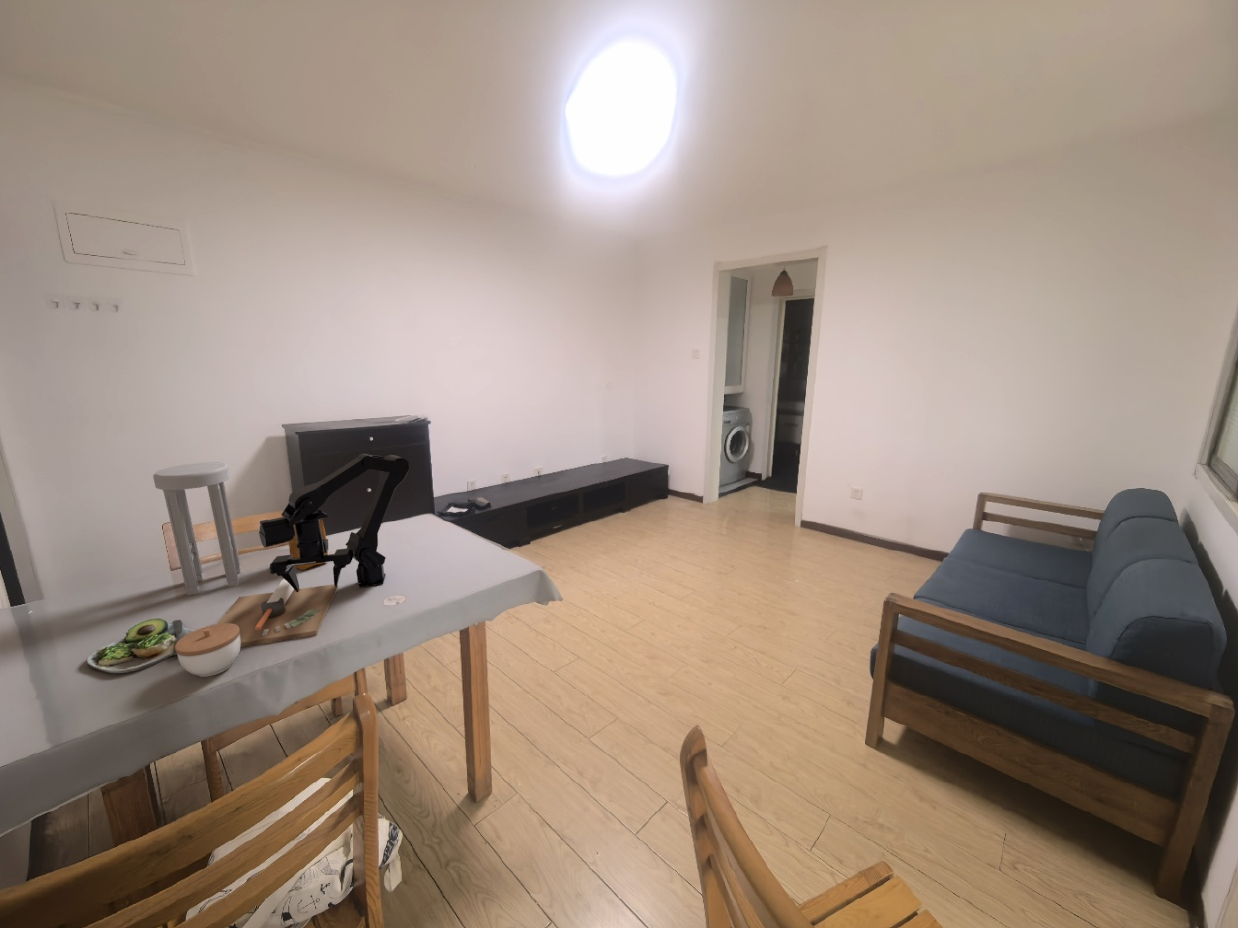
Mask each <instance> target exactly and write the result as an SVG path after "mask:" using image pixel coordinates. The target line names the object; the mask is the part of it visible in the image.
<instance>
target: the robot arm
mask: <svg viewBox="0 0 1238 928" xmlns="http://www.w3.org/2000/svg"><path fill="white" fill-rule="evenodd" d="M410 468H411V466H410V463H409V461H408V460H407V459H406V458H404V457H401V456H398V455H395V454H388V455H386V456H383V455H382V456H381V455H374V454H367V453H361V454H359V455H358V456H357V457H355V458H354V459H352V460H351V461H350V462H348V463H346V464H345V465H343V466H341V467H340V468H338V469H337V470H335V471H334V472H332V473H331V474H328V476H326V477H324V478H323V479H322V480H319V481H317V482H315V483H311V484H308V485H307V484H306V485H305V486H303V487H301V488H298V489H295V490H294V491H292V492H291V493H290V494H289V496H288V503H287V504H286V507H285V508H284V510H283V511H282V512H281V517H275V518H271V519H263V520H260V521H259V525H260V526H259V531H258V535H259V540H260V542H261V544H262V547H263V548H265V549H266V548H269V547H273V546H277V545H282V544H284V543H289V542H290V541H291V539H294V536H295V531H296V537H297V543H298V544H297V548H298V549H299V556H300V558H295V559H293V556H292V555H290V554H285V555H284V554H283V555H276V557H275V558H274V559H273V560H272V561H271V563H270V564H269V573H270V574H272V575H274V574H275V575H276V576H277V577H281V578H282V579H285V580H286V581H287V582H288V583H289V584H290V585H291V586H292V587H293V588H294V590H295V591H296V592H299V589H300V584H299V581H298V576H297V573H296V567H295V566H297V565H306V564H314V563H322V562H325V563H328V562H329V563H330V562H333V568H332V574H333V584H334V585H335V587H337V585H338V584H339V580H340V577H341V572H342V569H344V568H346V567H347V566H348V565H351V563H352V561H353V559H354V560H355V561H356V562H358V564H357V568H356V571H355V572H356V579H357V583H358V587H359V588H364V587H372V586H373V587H374V586H379V585H383V584H384V582H385V578H386V575H387V574H386V573H385V570H384V564H385V561H386V556H385V555H383V554H381V553H380V552H378V546H379V539H378V538H379V537H378V536H379V532H380V530H381V526H382V524H383V522H384V521H383V520H384V518H385V516H386V513H387V510H388V508H389V506H390V503H391V501H392V499H393V496H394V493H395V491H396V489H397V487H398V486H400V484H401V483H402V482H403V481H404V480H405V478H406V477H407V476H408V473H409V471H410ZM369 470H375V471H378V476H379V478H378V479H379V481H378V485H377V487H376V490H375V492H374V495H373V498H372V500H371V503H370V505H369V507H368V510H367V512H366V514H365V517H364V520H363V522H362V525H361V527H360V529H359V530H358V531H357V532H353V531H351V532H350V534H349V538H348V541H346V543H345V546H346V548H339V549H336V550H335V551H334V553H330V554H328V555H325V553H327V550H328V551H329V539H328V538H326V539H323V535H322V533H321V526H320V519H325V518H328V517H329V515H328V514H327V513H325V512H324V511H323V510H321V509H320V508H322V506H323V505H325V504H326V502H327V501H328V499H329V498H330V497H331V496H332V495H333V494H334V493H336V492H337V491H338V490H340V489H342V488H343V487H344V486H346V485H348V484H349V483H351V482H352V481H354V480H355V479H357V478H359V477H360V476H361V475H362V474H365V472H367V471H369ZM294 512H295V513H294ZM293 525H295V530H294V526H293ZM322 564H323V563H322ZM338 586H339V585H338Z"/></svg>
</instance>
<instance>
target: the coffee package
mask: <svg viewBox="0 0 1238 928" xmlns="http://www.w3.org/2000/svg"><path fill="white" fill-rule="evenodd" d="M294 513H295V512H294ZM322 519H323V518H322ZM322 519H320V526H321V533H322V535H323V539H327V535H326V530H325V526H324V521H323V520H322ZM293 526H294V530H295V525H293ZM297 544H298V543H297V537H296V531H295V536H294V539H291V541H290V542H288V547H289V555H292V556H293V559H295V558H300V556H299V549H298V548H297ZM325 555H329V550H327V553H325ZM324 563H326V562H322V563H314V564H306V565H297V566H295V569H299V570H301V571H303V570H306V569H309V568H312V567H314V566H318V565H321V564H324Z"/></svg>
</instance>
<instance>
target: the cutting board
mask: <svg viewBox="0 0 1238 928" xmlns="http://www.w3.org/2000/svg"><path fill="white" fill-rule="evenodd" d="M338 588H339V585H337V587H335V585H334V583H332V584H327V585H317V586H313V587H312V586H311V587H302V588H299V592H296V591H295V590H293V592H292V593H291V595H290V596H289V598H288V600H287V601H286V603H285V612H284V613H283V614H281V615H279V616H276V617H271V618H267V620H266V621H265V623H264V624H263V626H262V627H261V629H260V630H255V627H256V625H257V624H258V622H259V621H260V620H261V618H262V617H263V613H262V608H261V604H262V603H263V602H264V601H266V600H268V599H270V597H271V596H272V594H273V593H274V592H266V593H259V594H251V595H244V596H238V598H236V600H235V601H234V602H233V604H232V605H231V606H230V607H229V609H228V610H227V611H226V612H225V614H224V615H223V616H222V617H221V618H220V620H219V621H218V622H216V624H222V623H231V624H235V625H237V626H238V627H239V629H240V638H241V647H240V648H244V647H250V646H258V645H263V644H269V643H275V642H282V641H287V640H295V639H300V638H305V637H312V636H317V635H318V633H319V630H320V629H321V626H322V624H323V622H324V619H326V618H325V617H326V615H327V613H328V610H329V608H330V606H331V604H332V602H333V600H334V597H335V596H336V593H337V591H338Z"/></svg>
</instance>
